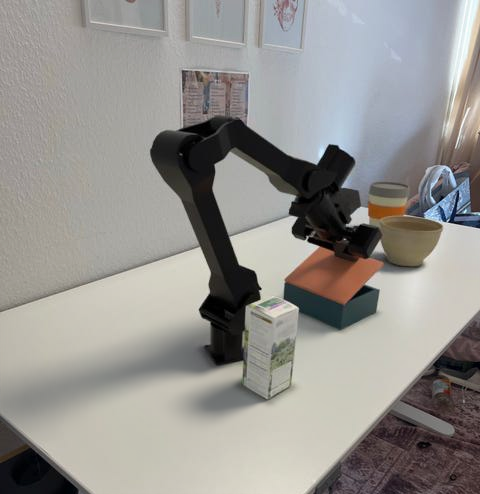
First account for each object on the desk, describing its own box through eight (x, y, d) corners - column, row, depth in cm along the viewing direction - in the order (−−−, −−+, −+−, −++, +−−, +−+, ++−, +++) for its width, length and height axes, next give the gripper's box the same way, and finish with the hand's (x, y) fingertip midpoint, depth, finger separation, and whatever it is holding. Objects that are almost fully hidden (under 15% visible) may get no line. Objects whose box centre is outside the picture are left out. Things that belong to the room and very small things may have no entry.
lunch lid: (323, 246, 108) (319, 227, 104) (383, 265, 97) (381, 244, 94) (284, 281, 103) (279, 263, 99) (344, 305, 92) (340, 285, 89)
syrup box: (265, 372, 80) (270, 293, 74) (292, 387, 77) (299, 305, 70) (241, 385, 77) (243, 303, 70) (268, 401, 73) (273, 316, 67)
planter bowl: (448, 267, 128) (457, 228, 123) (399, 274, 123) (406, 233, 118) (408, 249, 142) (415, 213, 137) (362, 255, 136) (368, 217, 131)
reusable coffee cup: (407, 230, 160) (415, 184, 154) (396, 239, 151) (404, 191, 144) (370, 224, 166) (376, 180, 160) (358, 232, 157) (364, 185, 150)
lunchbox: (319, 290, 113) (321, 269, 110) (376, 312, 102) (380, 289, 100) (282, 304, 105) (284, 282, 103) (340, 330, 95) (343, 306, 92)
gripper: (384, 184, 84) (407, 232, 96) (304, 169, 97) (332, 214, 108) (352, 236, 83) (379, 278, 95) (275, 215, 96) (307, 255, 107)
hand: (348, 254), depth 101 cm, fingers closed on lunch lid, 5 cm apart
